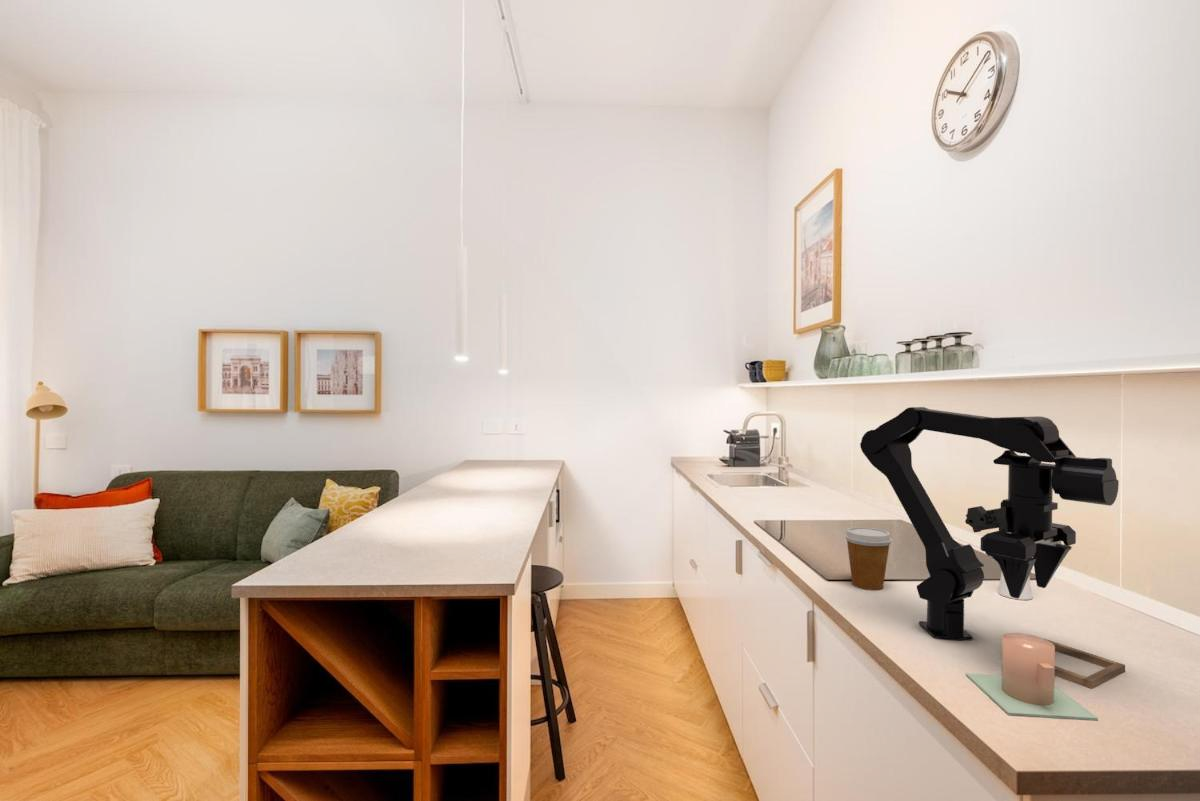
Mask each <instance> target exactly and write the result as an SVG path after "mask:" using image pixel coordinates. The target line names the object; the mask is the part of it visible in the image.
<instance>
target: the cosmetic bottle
mask: <svg viewBox="0 0 1200 801" xmlns="http://www.w3.org/2000/svg"><path fill="white" fill-rule="evenodd" d="M1008 533H1009V532H1008ZM1032 591H1033V590H1032V586H1031V578H1030V575H1029V577H1028V579H1027V582H1026V584H1025V586H1024V589H1023V591H1022V593H1021V595H1020V597H1019V598H1014V597H1011V596H1010V594H1009V591H1008V588H1007V585H1006V582H1005V579H1004V576H1003V573H1002V571H1001V573H1000V580H999V585H998V588H997V593H998V594H999V595H1000V596H1003V597H1005V598H1008V599H1012V600H1021V601H1030V600H1033V598H1034V596H1033V592H1032Z"/></svg>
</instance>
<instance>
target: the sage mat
mask: <svg viewBox="0 0 1200 801" xmlns="http://www.w3.org/2000/svg"><path fill="white" fill-rule="evenodd" d="M965 676H966V677H967V678H968V679H969V680H970V681H971V682H973V683H974V685H976V686H977V687H978V689H980V690H981V691H982V692H983V693H984V694H985V695H986V696H987V697H989V699H990V700H992V702H994V703H995V704H996V705H997V706H998V707H999V708H1000V709H1001V710H1002V711H1004V712H1005V713H1006V715H1008V716H1018V717H1019V716H1020V717H1037V718H1052V719H1057V718H1058V719H1067V720H1068V719H1069V720H1070V719H1071V720H1086V721H1089V720H1090V721H1099V718H1098V717H1097V716H1096V715H1095V714H1093V713H1092V712H1091V711H1089V710H1088V709H1087V708H1086V707H1084V706H1083V705H1082V704H1080V703H1079V702H1078V701H1077V700H1075V699H1073V698H1072V697H1071V696H1070V695H1068V694H1067V693H1066V692H1064V691H1063V690H1062V689H1060V687H1058V686H1056V685H1055V684H1054V703H1053V704H1051V705H1034V704H1029V703H1025V702H1022V701H1019V700H1016V699H1014V698H1012V697H1010V696H1008V695H1007V694H1006V693H1004V692H1003V690H1002V674H985V673H969V672H968V673H967V672H966V673H965Z"/></svg>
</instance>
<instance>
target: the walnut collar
mask: <svg viewBox="0 0 1200 801" xmlns="http://www.w3.org/2000/svg"><path fill="white" fill-rule="evenodd" d="M1042 638H1043V639H1046V640H1048V641H1049V642H1051V643H1052V644H1054V646H1055V652H1056V651H1057V652H1059V653H1062V654H1065V655H1068V656H1071V657H1074V658H1076V659H1080V660H1082V661H1085V662H1089V663H1092V664H1095V665H1098V666H1100V667H1103V668H1102V669H1099V670H1098V671H1097V672H1095V673H1092V674H1090V675H1088V676H1085V675H1082V674H1079V673H1076V672H1074V671H1071V670H1068V669H1066V668H1065V669H1064V668H1062V667H1059V666H1056V665H1055V677H1058V678H1062V679H1065V680H1068V681H1070V682H1072V683H1075V684H1079V685H1081V686H1083V687H1086V688H1090V689H1094V688H1095V687H1098V686H1100V685H1101V684H1103V683H1106V682H1107V681H1110V680H1112V679H1113V678H1115V677H1116V676H1119V675H1120V674H1123V673H1124V672H1126V664H1124V663H1121V662H1119V661H1114V660H1112V659H1109V658H1105V657H1104V656H1103V657H1102V656H1099V655H1097V654H1093V653H1089V652H1087V651H1084V650H1080V649H1077V648H1074V647H1071V646H1068V645H1066V644H1063V643H1058V642H1055V641H1052V640H1050V639H1047V638H1044V637H1042Z"/></svg>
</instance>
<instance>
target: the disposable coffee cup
mask: <svg viewBox="0 0 1200 801" xmlns="http://www.w3.org/2000/svg"><path fill="white" fill-rule="evenodd" d="M890 535H891V534H890V532H888V531H887V530H884V529H880V528H873V527H867V526H866V527H864V526H863V527H862V526H858V527H857V526H856V527H849V528H847V529H846V532H845V534H844V537H845V540H846V542H847V550H848V553H847V554H848V559H849V567H850V576H851V584H852V585H853V586H855V587H856V586H857V587H856V588H859V587H860V589H863V588H864V589H863V590H868V589H871V590H872V591H877V590H878V589H879V590H881V589H884V583H885V577H886V570H887V563H888V557H889V549H890V545H891V542H892V541H893V539H892V538H891V536H890ZM873 589H874V590H873ZM871 590H870V591H871Z"/></svg>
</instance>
